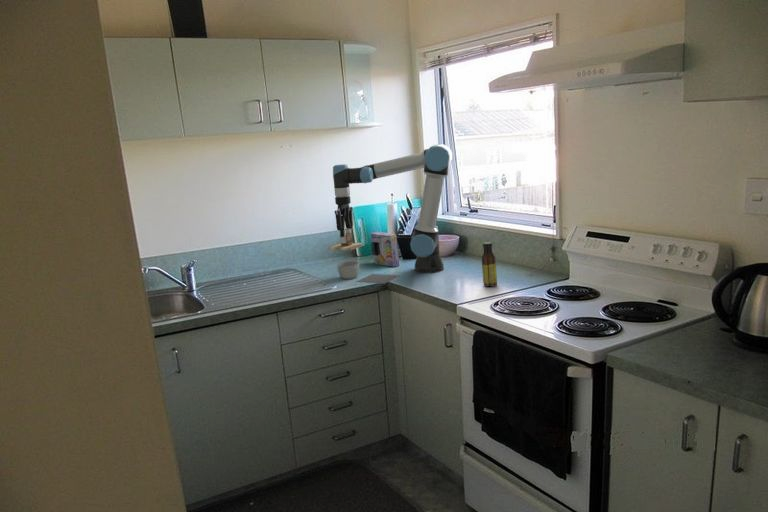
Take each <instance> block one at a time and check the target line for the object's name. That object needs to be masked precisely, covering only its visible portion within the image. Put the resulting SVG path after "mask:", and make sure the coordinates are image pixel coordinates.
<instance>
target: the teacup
mask: <svg viewBox="0 0 768 512" xmlns="http://www.w3.org/2000/svg"><path fill="white" fill-rule="evenodd" d="M359 265H360V263H359V261H358V260H345V261H341V262H340V263H338V264H337V270H338V274H339V277H340V278H341V279H343V280H353V279H355V278H357V277H358V276H359V274H360V266H359Z"/></svg>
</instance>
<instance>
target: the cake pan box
mask: <svg viewBox="0 0 768 512" xmlns="http://www.w3.org/2000/svg"><path fill="white" fill-rule="evenodd" d="M370 241H371V243H370V244H371V245H370V246H371V247H370V248H371V252H372V255H373V256H372V257H373V263H374V264H376V265H377V264H378V265H381V266H387V267H398V266H399V267H400V257H399V250H398V249H399V248H398V240H397V234H396V233H389V232H384V231H383V232H382V231H374V232H370Z"/></svg>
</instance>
